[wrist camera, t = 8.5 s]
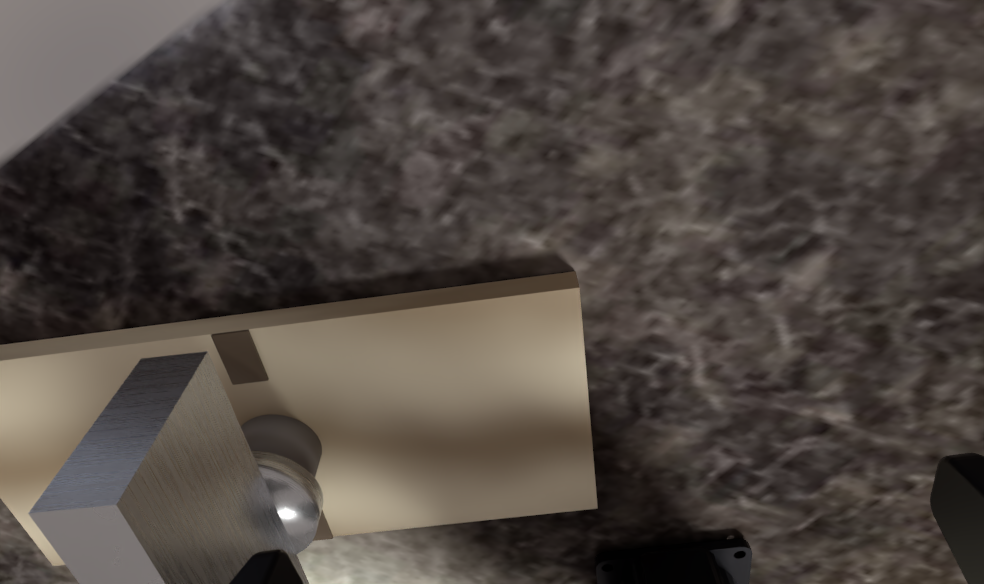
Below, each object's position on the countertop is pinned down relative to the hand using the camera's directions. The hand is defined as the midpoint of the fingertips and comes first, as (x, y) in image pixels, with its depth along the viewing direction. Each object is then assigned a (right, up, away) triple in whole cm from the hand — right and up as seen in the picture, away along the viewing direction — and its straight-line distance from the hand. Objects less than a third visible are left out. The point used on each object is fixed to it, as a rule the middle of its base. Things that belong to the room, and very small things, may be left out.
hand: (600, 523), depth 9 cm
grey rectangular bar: (-9, -3, +12) cm, 16 cm away
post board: (-9, -2, +15) cm, 18 cm away
